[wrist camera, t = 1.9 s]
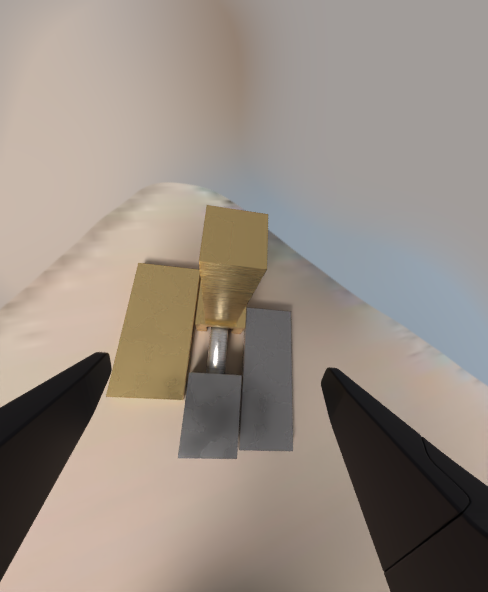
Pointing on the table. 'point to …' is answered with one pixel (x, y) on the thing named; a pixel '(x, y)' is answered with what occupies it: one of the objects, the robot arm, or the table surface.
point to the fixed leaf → (242, 393)
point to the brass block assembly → (188, 305)
